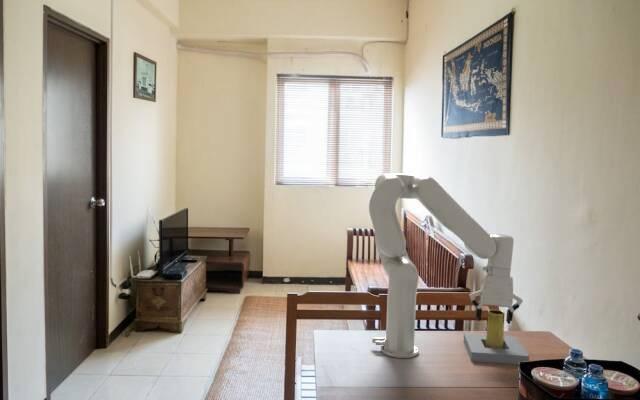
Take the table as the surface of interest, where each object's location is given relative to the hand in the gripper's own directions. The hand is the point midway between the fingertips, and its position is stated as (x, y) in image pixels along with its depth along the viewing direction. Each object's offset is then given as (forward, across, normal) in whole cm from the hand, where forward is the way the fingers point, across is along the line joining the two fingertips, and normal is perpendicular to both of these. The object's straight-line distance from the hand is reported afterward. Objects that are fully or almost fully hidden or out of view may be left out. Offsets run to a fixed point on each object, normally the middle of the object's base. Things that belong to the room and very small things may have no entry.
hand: (493, 321), depth 186 cm
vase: (+11, +1, 0) cm, 11 cm away
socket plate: (+11, +1, 0) cm, 11 cm away
